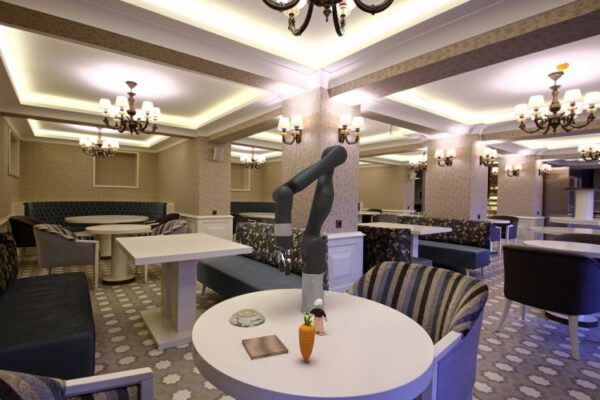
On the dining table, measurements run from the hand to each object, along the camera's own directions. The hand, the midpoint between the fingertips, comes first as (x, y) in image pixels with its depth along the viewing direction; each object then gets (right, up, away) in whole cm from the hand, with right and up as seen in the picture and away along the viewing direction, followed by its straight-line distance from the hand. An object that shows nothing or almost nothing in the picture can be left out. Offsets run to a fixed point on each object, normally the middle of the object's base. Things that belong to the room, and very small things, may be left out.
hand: (284, 273), depth 129 cm
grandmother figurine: (+13, -19, -14) cm, 27 cm away
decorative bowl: (-15, -19, -3) cm, 24 cm away
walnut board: (-5, -18, -26) cm, 32 cm away
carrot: (+8, -19, -34) cm, 40 cm away
